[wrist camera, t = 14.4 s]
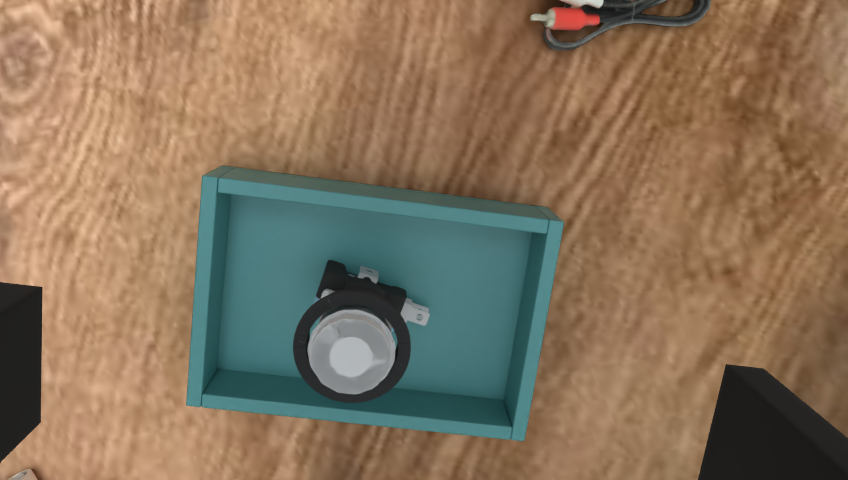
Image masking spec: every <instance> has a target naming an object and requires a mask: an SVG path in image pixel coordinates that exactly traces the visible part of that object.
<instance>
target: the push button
mask: <svg viewBox="0 0 848 480" xmlns="http://www.w3.org/2000/svg"><path fill="white" fill-rule="evenodd" d="M366 270H368V271H371V272H368V271H366ZM372 272H373V273H372ZM378 275H379V272H378V271H376V270H374V269H371V268H368V267H365V266H360V271H359V275H356V274H353V273H350V272H347V270H346V267H345V265H344V264H342V263H340V262H337V261H334V260H328V262H327V264H326V267H325V270H324V273H323V276H322V279H321V282H320V285H319V288H318V291H317V294H316V296H315V299H314V302H313V305H311V306H310V307H309V308H308V309H307V311H306V312H305V313H304V314H303V316H302V318H301V319H300V321H299V323H298V326H297V328H296V331H295V334H294V339H293V355H294V360H295V364H296V366H297V369H298V371H299V373H300V375H301V376H302V378H303V379H304V380H305V382H306V383H307V384H308V385H309V386H310V387H311V388H312V389H314V390H315V391H316V392H318V393H319V394H321V395H322V396H324V397H326V398H329V399H331V400H335V401H338V402H344V403H360V402H366V401H370V400H373V399H376V398H378V397H380V396H382V395H384V394H385V393H387V392H388V391H390V390H391V389H392V388H393V387H394V386H395V385H396V384H397V383H398V382H399V381H400V379H401V378H402V376H403V375H404V373H405V371H406V369H407V366H408V363H409V360H410V354H411V341H410V334H409V330H408V328H407V325H406V323H405V322H407V320H408V321H411V322H414V323H417V324H420V325H423V326H425V325H426V324H427V321H428V318H429V316H430V314H429V313H428V311H429V309H428V307H425V306H422V305H419V304H416V303H412V299H409V298H407V294H406V290H404V289H402V288H400V287H397V286H389V285H386V284H383V283H380V282H377V281H378ZM419 309H422V310H419ZM417 314H421V315H417ZM319 317H320V320H319V323H318V325H317V326H316V327H315V329H314V330H313V332H312V333H311V336H310V329H311V327H312V326H313V324H314V323H315V321H316V320H317V319H318V318H319ZM416 318H418V319H421V320H417V319H416ZM392 332H395V334H396V337H397V347H396V350H395V342H394V340H393V337H392Z"/></svg>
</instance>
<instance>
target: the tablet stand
mask: <svg viewBox="0 0 848 480" xmlns="http://www.w3.org/2000/svg"><path fill="white" fill-rule="evenodd" d="M8 480H38V479H37V478H36V476H35V474H34V473H33V471H32V470H31V469H26V470H23V471H21V472H19V473H17V474H16V475H14V476H12V477H11V478H9V479H8Z"/></svg>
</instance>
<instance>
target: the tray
mask: <svg viewBox="0 0 848 480" xmlns="http://www.w3.org/2000/svg"><path fill="white" fill-rule="evenodd" d="M563 226H564V221H562V220H561V219H560V218H559V217H558V216H557V215H556V214H554V213H553V212H552V211H551V210H550V209H549V208H548V207H541V206H533V205H525V204H517V203H509V202H502V201H494V200H486V199H478V198H471V197H463V196H455V195H447V194H439V193H432V192H424V191H416V190H408V189H401V188H393V187H385V186H377V185H369V184H362V183H354V182H346V181H338V180H331V179H323V178H315V177H307V176H299V175H292V174H284V173H276V172H268V171H260V170H253V169H245V168H237V167H229V166H220V167H218V168H216V169H214V170H212V171H210V172H209V173H207V174H205V175H203V176H202V187H201V201H200V215H199V230H198V244H197V258H196V273H195V287H194V301H193V315H192V330H191V344H190V358H189V373H188V387H187V401H186V405H187V406H195V407H201V406H202V407H205V408H214V409H223V410H233V411H242V412H252V413H261V414H271V415H280V416H290V417H299V418H309V419H318V420H328V421H337V422H347V423H356V424H366V425H375V426H385V427H394V428H404V429H413V430H423V431H432V432H442V433H451V434H461V435H470V436H479V437H489V438H498V439H508V440H509V439H510V438H511V440H517V441H524V440H525V435H526V429H527V424H528V418H529V413H530V407H531V402H532V396H533V391H534V385H535V380H536V374H537V369H538V363H539V358H540V352H541V347H542V341H543V336H544V330H545V325H546V319H547V314H548V308H549V303H550V297H551V292H552V286H553V281H554V275H555V270H556V264H557V259H558V253H559V248H560V242H561V237H562V231H563ZM328 260H334V261H337V262H340V263H342V264H344V265H345V267H346V270H347V272H350V273H353V274H356V275H359V271H360V266H365V267H368V268H371V269H374V270H376V271H378V272H379V275H378V281H377V282H380V283H383V284H386V285H389V286H397V287H400V288H402V289H404V290H406V294H407V298H409V299H412V303H416V304H419V305H422V306H425V307H428V309H429V311H428V313H429V314H430V316H429V318H428V321H427V324H426V325H425V326H423V325H420V324H417V323H414V322H411V321H408V320H407V322H405V323H406V325H407V328H408V330H409V334H410V341H411V354H410V360H409V363H408V366H407V369H406V371H405V373H404V375H403V376H402V378H401V379H400V381H399V382H398V383H397V384H396V385H395V386H394V387H393V388H392V389H391V390H390V391H388V392H387V393H385V394H384V395H382V396H380V397H378V398H376V399H373V400H370V401H366V402H360V403H344V402H338V401H335V400H331V399H329V398H326V397H324V396H322V395H321V394H319V393H318V392H316V391H315V390H314V389H312V388H311V387H310V386H309V385H308V384H307V383H306V382H305V380H304V379H303V378H302V376H301V375H300V373H299V371H298V369H297V366H296V364H295V360H294V355H293V339H294V334H295V331H296V328H297V326H298V323H299V321H300V319H301V318H302V316H303V314H304V313H305V312H306V311H307V309H308V308H309V307H310V306H311V305H313V302H314V299H315V296H316V294H317V291H318V288H319V285H320V282H321V279H322V276H323V273H324V270H325V267H326V264H327V262H328ZM366 271H368V270H366ZM368 272H371V271H368ZM372 273H373V272H372ZM419 310H422V309H419ZM417 315H421V314H417ZM416 319H417V320H421V319H418V318H416ZM319 320H320V317H319V318H318V319H317V320H316V321H315V323H314V324H313V326H312V327H311V329H310V336H311V333H312V332H313V330H314V329H315V327H316V326H317V325H318V323H319ZM392 337H393V340H394V342H395V350H396V347H397V337H396V334H395V332H392Z"/></svg>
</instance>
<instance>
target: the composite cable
mask: <svg viewBox="0 0 848 480" xmlns="http://www.w3.org/2000/svg"><path fill="white" fill-rule="evenodd" d="M560 1H561V2H562V3H564V7H553V8H551V9H549V10H548V11H547V12H546V13H544V14H543V15H541V14H533V15H531V17H530V20H532V21H542V22H543V25H544V26H545V29H544V34H543V37H544V40H545V42H546V43H547V45H548V46H549V47H550V48H551V49H553V50H556V51H563V50H572V49H575V48H577V47H579V46H581V45H583V44H585V43H586V42H588V41H590V40H591V39H593V38H595V37H596V36H598V35H600V34H601V33H603V32H605V31H607V30H609V29H611V28H614V27H617V26H620V25H625V24H633V23H638V24H648V25H658V26H673V27H677V26H687V25H691V24H694V23H696V22H697V21H699V20H700V19H701V18H702V17H703V16H704V15H705V14H706V13H707V11H708V9H709V7H710V3H711V0H695V4H694V7H693V9H692V10H691V11H690V12H689V13H687V14H685V15H683V16H678V17H663V16H656V15H646V14H642V13H641V12H642V11H643V10H645V9H646V8H649V7H653V6H655V5H657V4H660V3H662V2H664V1H666V0H636V1H630V0H560ZM601 22H602V23H604V24H603V25H602V26H601V27H600V28H599V29H597V30H596V31H594V32H592V33H591V34H589V35H587V36H585V37H583V38H581V39H579V40H577V41H575V42H560V41H558V40H556V39H555V38H554V37H553V36H552V34H551V29H553V30H579V29H581V28H582V27H584V26H596V25H598V24H599V23H601Z"/></svg>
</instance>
